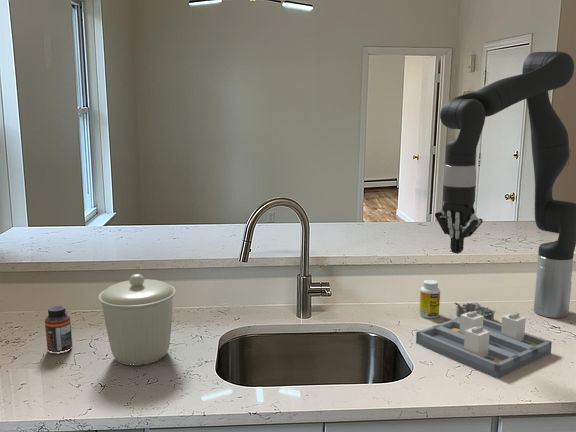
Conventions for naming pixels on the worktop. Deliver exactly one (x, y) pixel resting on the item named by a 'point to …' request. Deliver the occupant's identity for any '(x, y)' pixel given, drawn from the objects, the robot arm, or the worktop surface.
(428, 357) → the worktop surface
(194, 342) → the worktop surface
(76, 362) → the worktop surface
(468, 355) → the switch board
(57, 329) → the supplement bottle
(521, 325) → the white upright block
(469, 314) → the white tall block
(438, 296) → the supplement bottle
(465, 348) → the tab
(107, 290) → the canister
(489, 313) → the grey jagged lump
